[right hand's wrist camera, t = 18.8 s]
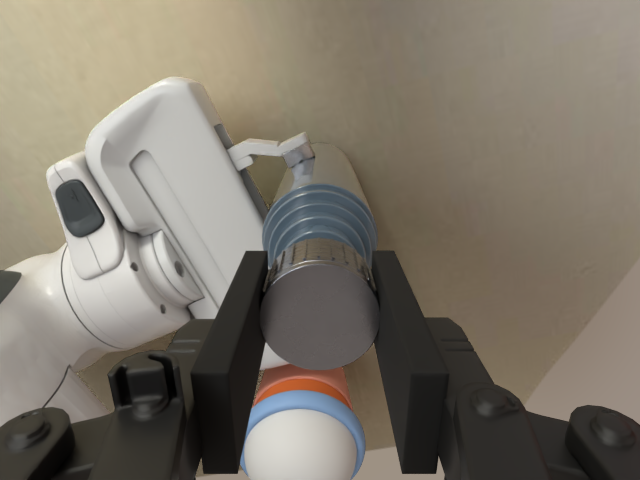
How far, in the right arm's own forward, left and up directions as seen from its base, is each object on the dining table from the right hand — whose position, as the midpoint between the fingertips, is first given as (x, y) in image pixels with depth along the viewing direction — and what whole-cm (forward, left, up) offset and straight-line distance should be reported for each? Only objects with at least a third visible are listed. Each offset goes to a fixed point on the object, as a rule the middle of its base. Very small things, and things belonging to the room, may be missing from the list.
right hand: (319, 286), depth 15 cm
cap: (0, 0, +2) cm, 2 cm away
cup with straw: (+5, -16, -19) cm, 26 cm away
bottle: (0, 0, -19) cm, 19 cm away
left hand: (+1, +1, -13) cm, 13 cm away
